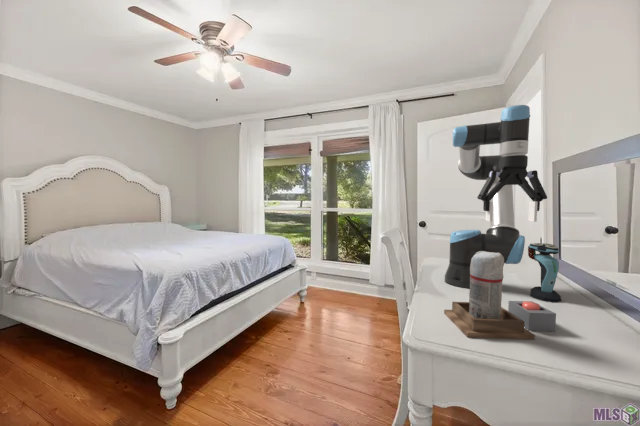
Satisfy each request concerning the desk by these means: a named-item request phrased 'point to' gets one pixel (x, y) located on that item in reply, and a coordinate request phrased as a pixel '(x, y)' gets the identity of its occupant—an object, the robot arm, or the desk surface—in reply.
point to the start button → (531, 305)
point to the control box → (533, 317)
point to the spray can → (486, 285)
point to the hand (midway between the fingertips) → (510, 221)
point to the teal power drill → (545, 271)
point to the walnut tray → (487, 324)
